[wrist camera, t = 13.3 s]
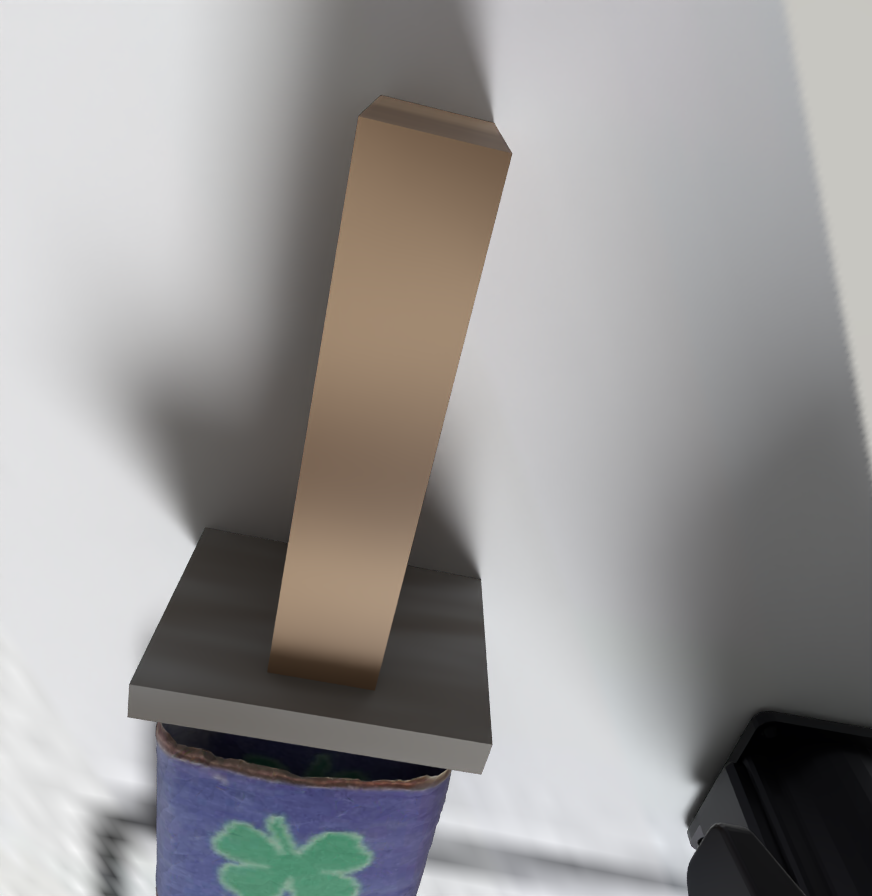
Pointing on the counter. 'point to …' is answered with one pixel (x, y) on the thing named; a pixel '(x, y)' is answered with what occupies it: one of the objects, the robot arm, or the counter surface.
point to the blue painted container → (289, 818)
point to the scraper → (358, 490)
